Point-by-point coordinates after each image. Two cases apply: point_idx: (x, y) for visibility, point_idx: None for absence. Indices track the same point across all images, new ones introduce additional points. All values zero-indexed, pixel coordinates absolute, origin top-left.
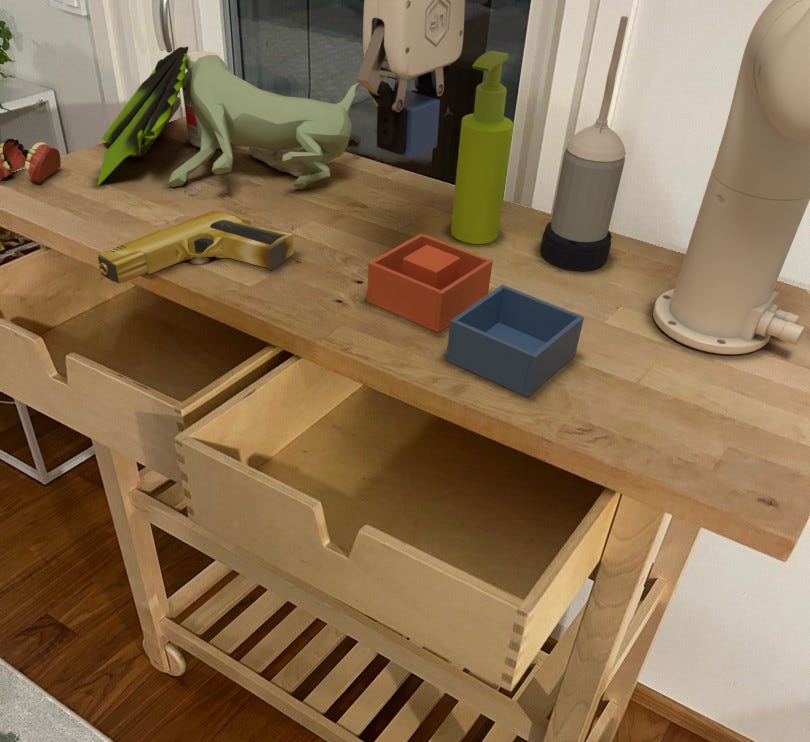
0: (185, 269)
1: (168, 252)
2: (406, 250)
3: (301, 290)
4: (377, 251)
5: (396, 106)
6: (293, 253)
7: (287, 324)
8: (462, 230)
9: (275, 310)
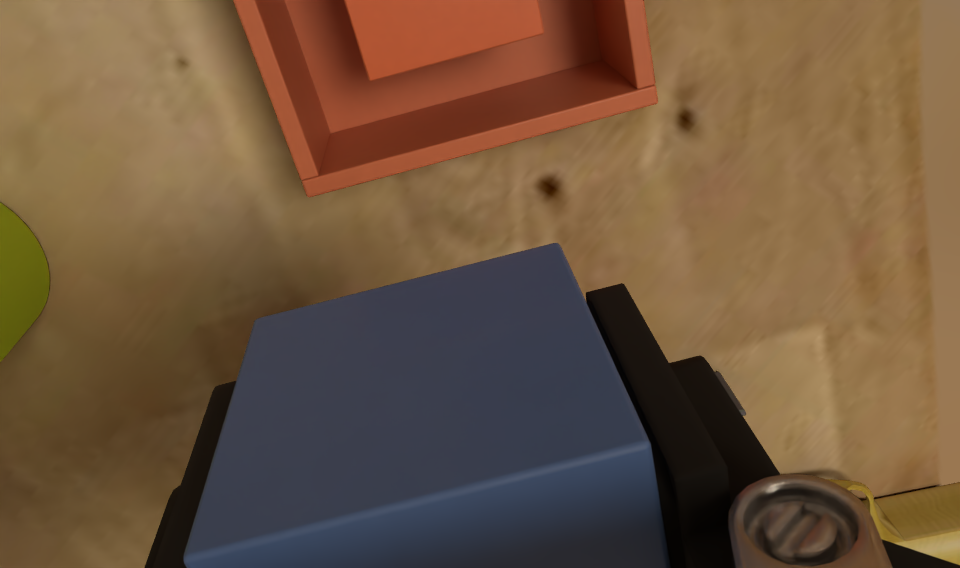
0: (877, 468)
1: (918, 520)
2: (423, 140)
3: (728, 237)
4: None
5: (858, 507)
6: None
7: (903, 90)
8: (21, 259)
9: (868, 179)
